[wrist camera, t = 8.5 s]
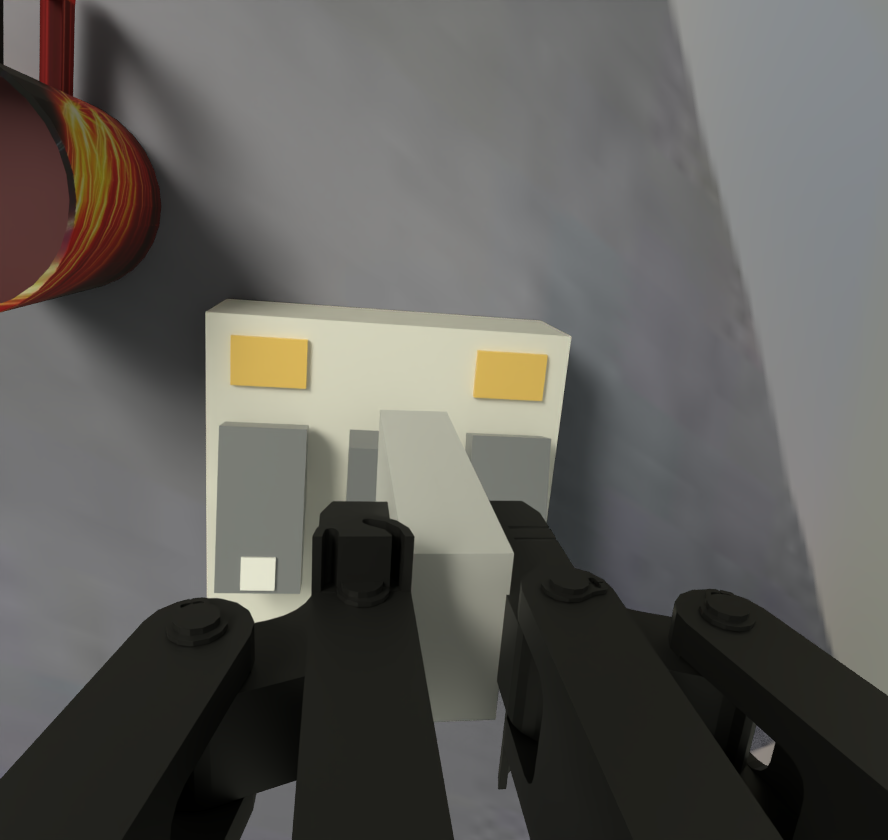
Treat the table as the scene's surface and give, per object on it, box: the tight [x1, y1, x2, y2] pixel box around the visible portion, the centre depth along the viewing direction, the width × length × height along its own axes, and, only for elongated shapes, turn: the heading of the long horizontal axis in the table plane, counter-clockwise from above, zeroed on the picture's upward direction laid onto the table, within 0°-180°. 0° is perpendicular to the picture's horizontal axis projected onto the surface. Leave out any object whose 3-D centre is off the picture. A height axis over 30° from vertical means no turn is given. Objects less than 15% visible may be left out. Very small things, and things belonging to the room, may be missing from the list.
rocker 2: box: [346, 430, 379, 502], centre depth 34 cm, size 8×4×2 cm, turn 175°
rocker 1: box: [214, 421, 309, 594], centre depth 34 cm, size 8×4×2 cm, turn 175°
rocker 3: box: [465, 433, 551, 521], centre depth 35 cm, size 8×4×2 cm, turn 175°
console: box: [205, 299, 571, 623], centre depth 39 cm, size 18×18×7 cm
